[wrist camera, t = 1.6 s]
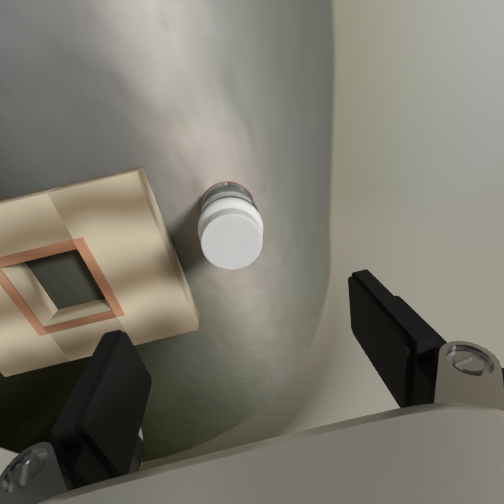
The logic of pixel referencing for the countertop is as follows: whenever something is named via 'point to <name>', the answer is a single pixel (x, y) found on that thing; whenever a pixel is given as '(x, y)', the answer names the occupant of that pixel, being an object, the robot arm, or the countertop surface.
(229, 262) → the pill bottle
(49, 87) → the countertop surface
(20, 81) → the countertop surface
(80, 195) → the socket plate
